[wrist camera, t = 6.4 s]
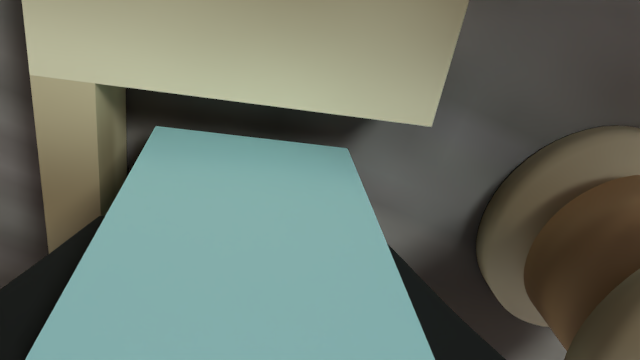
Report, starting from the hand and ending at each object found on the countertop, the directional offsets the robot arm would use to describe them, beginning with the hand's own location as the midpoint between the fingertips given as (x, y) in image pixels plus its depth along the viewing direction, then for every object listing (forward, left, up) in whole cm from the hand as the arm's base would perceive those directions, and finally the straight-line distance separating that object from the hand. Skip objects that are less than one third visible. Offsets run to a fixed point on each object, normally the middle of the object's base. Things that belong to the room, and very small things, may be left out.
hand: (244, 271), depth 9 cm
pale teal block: (0, 0, -2) cm, 2 cm away
